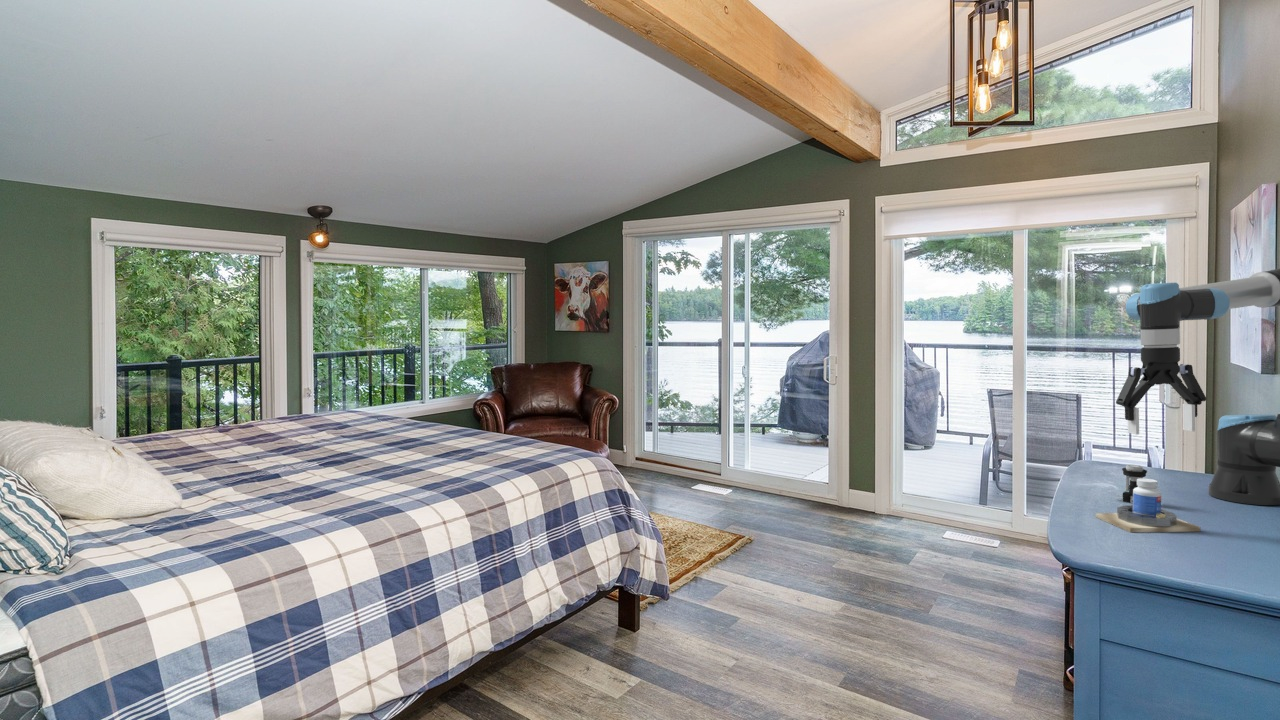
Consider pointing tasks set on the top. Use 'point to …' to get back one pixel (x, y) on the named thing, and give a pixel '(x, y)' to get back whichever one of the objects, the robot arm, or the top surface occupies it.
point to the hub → (1147, 517)
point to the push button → (1131, 481)
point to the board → (1130, 527)
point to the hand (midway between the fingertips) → (1161, 432)
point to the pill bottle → (1146, 497)
